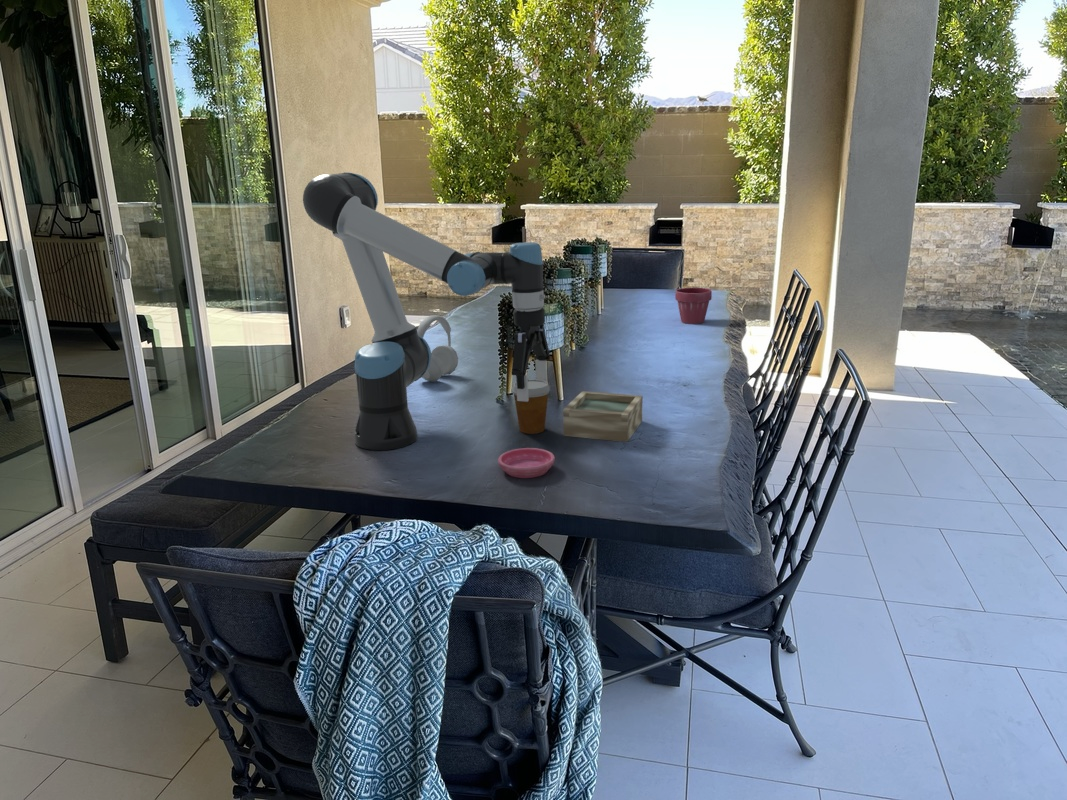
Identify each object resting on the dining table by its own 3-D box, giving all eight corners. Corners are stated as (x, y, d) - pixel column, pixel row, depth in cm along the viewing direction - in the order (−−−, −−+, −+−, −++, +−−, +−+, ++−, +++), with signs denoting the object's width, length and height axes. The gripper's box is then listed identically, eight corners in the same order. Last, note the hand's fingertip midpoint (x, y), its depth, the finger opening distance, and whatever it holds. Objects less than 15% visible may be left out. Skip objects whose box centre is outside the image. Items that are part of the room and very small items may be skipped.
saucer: (487, 474, 175) (486, 460, 174) (519, 456, 185) (519, 443, 184) (534, 485, 168) (534, 471, 167) (565, 466, 178) (565, 453, 177)
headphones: (432, 388, 239) (428, 322, 233) (407, 385, 243) (402, 320, 237) (464, 373, 255) (461, 311, 249) (440, 370, 259) (436, 309, 253)
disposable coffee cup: (505, 429, 202) (503, 384, 198) (534, 421, 208) (533, 376, 204) (529, 438, 195) (528, 391, 191) (558, 429, 201) (558, 383, 197)
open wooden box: (627, 442, 191) (627, 415, 189) (563, 435, 196) (563, 409, 194) (642, 421, 205) (642, 395, 203) (582, 415, 211) (582, 391, 209)
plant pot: (668, 320, 324) (669, 288, 320) (699, 317, 328) (700, 286, 324) (685, 326, 311) (686, 294, 307) (717, 323, 315) (718, 291, 311)
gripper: (524, 319, 180) (529, 408, 186) (559, 299, 202) (562, 380, 208) (494, 318, 182) (499, 406, 188) (532, 298, 204) (535, 378, 211)
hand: (532, 393), depth 198 cm, fingers open, 13 cm apart
